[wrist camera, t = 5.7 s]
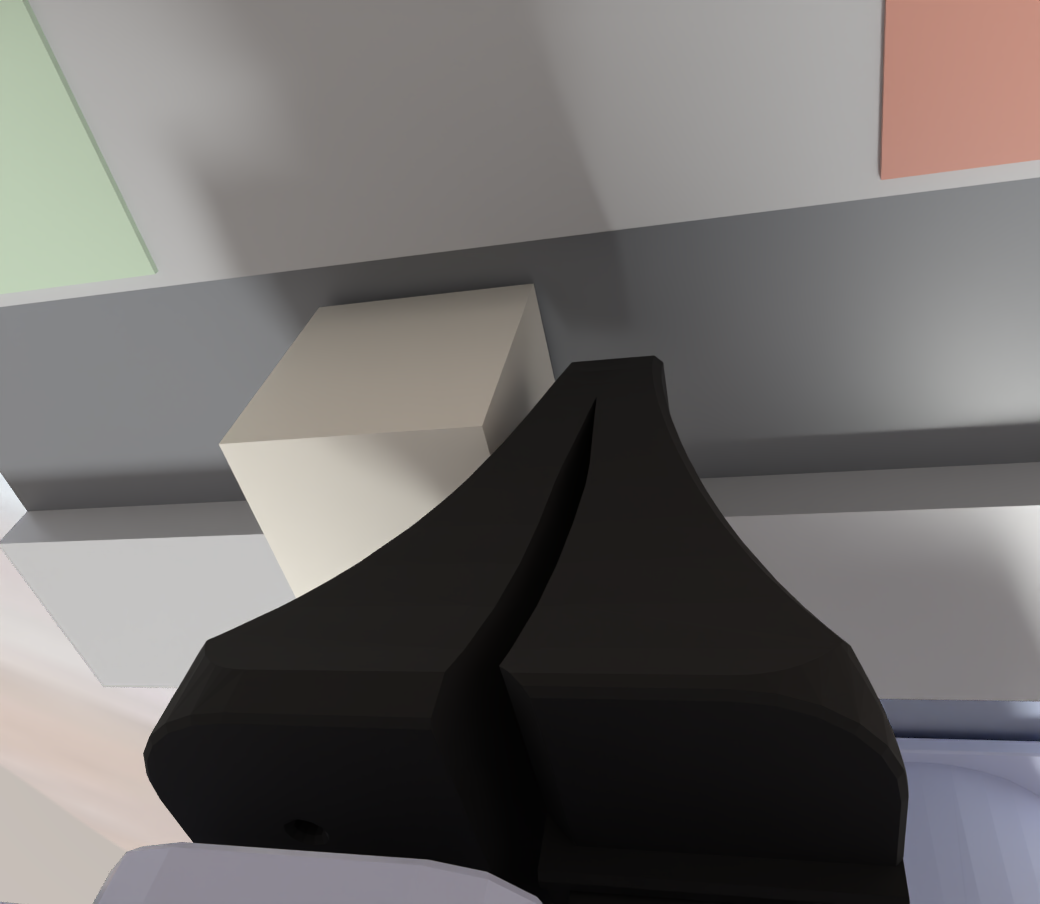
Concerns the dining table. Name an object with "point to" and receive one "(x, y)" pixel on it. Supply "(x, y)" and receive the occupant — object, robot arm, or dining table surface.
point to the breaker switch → (383, 420)
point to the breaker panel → (538, 281)
